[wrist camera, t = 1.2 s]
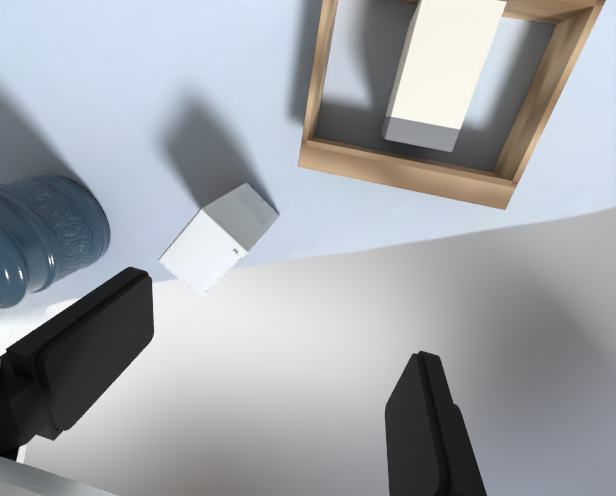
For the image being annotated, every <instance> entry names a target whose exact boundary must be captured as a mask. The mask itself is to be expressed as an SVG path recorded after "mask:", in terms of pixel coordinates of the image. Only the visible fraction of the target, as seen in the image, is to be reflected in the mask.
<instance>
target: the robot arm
mask: <svg viewBox="0 0 616 496" xmlns="http://www.w3.org/2000/svg"><path fill="white" fill-rule="evenodd" d="M153 335H154V320H153V296H152V278H151V277H149V275H148V273H147V272H146V271H144V270H140V269H137V268H133V267H128V268H126V269H124V270H123V271H121V272H120V273H118V274H117V275H115V276H114V277H112V278H111V279H109V280H108V281H106V282H105V283H103V284H102V285H100V286H99V287H98V288H96V289H95V290H93V291H92V292H90V293H89V294H87V295H86V296H84V297H83V298H81V299H80V300H78V301H77V302H75V303H74V304H72V305H71V306H69V307H68V308H66V309H65V310H63V311H62V312H60V313H59V314H57V315H56V316H54V317H53V318H51V319H50V320H48V321H47V322H45V323H44V324H42V325H41V326H39V327H38V328H36V329H35V330H33V331H32V332H30V333H29V334H28V335H26V336H25V337H23V338H22V339H20V340H19V341H17V342H16V343H14V344H13V345H11V346H10V347H8V348H7V349H6V351H7V352H6V353H5V354H3V355H2V356H0V496H118V495H114V494H112V493H109V492H106V491H103V490H100V489H97V488H94V487H91V486H88V485H85V484H82V483H79V482H76V481H73V480H70V479H67V478H64V477H61V476H58V475H56V474H52V473H50V472H47V471H44V470H41V469H38V468H35V467H31V466H28V465H25V464H23V463H24V458H25V453H26V448H27V443H28V442H29V441H30V440H31V439H32V438H33V437H34V436H35V435H36V434H37V435H39V436H42V437H45V438H48V439H50V440H53V441H54V440H55V439H56V438H57V437H58V436H59V435H60V434H61V433H62V431H63V430H64V431H66V430H68V429H70V428H71V427H72V426H73V425H74V424H75V423H76V422H77V421H78V420H79V419H80V418H81V417H82V415H84V413H85V412H86V411H87V410H88V409H89V408H90V407H91V406H92V405H93V404H94V403H95V402H96V401H97V399H98V398H99V397H100V396H101V395H102V394H103V393H104V392H105V391H106V390H107V388H108V387H109V386H110V385H111V384H112V383H113V382H114V381H115V380H116V379H117V378H118V377H119V376H120V374H121V373H122V372H123V371H124V370H125V369H126V368H127V367H128V366H129V365H130V364H131V362H132V361H133V360H134V359H135V358H136V357H137V356H138V355H139V354H140V353H141V352H142V350H143V349H144V348H145V347H146V346H147V345H148V344H149V343H150V341H151V340H152V338H153ZM385 426H386V443H387V458H388V476H389V493H390V496H487V494H486V491H485V488H484V485H483V481H482V478H481V475H480V472H479V468H478V465H477V462H476V459H475V455H474V453H473V449H472V446H471V443H470V439H469V436H468V433H467V430H466V427H465V423H464V420H463V417H462V414H461V411H460V409H459V407H458V406H457V405H456V404H453V400H452V397H451V394H450V390H449V387H448V384H447V380H446V376H445V373H444V370H443V366H442V363H441V360H440V357H439V356H438V355H434V354H431V353H427V352H424V351H420V352H419V353H418V354H415V353H414V354H412V356H411V358H410V360H409V361H408V364H407V365H406V367H405V369H404V371H403V373H402V375H401V377H400V379H399V381H398V383H397V385H396V387H395V388H394V390H393V392H392V394H391V396H390V398H389V400H388V402H387V404H386V408H385Z"/></svg>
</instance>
